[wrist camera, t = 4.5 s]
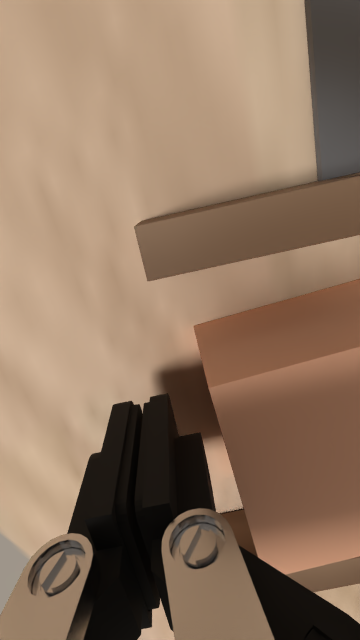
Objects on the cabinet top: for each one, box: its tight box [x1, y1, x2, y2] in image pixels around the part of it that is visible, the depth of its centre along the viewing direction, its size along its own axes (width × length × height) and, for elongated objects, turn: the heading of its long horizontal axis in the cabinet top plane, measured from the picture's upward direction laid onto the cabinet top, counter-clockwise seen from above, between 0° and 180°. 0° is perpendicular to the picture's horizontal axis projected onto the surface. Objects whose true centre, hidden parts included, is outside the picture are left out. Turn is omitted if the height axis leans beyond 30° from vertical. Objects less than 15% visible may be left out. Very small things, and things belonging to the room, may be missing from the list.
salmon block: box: [194, 279, 360, 575], centre depth 10 cm, size 6×6×4 cm
